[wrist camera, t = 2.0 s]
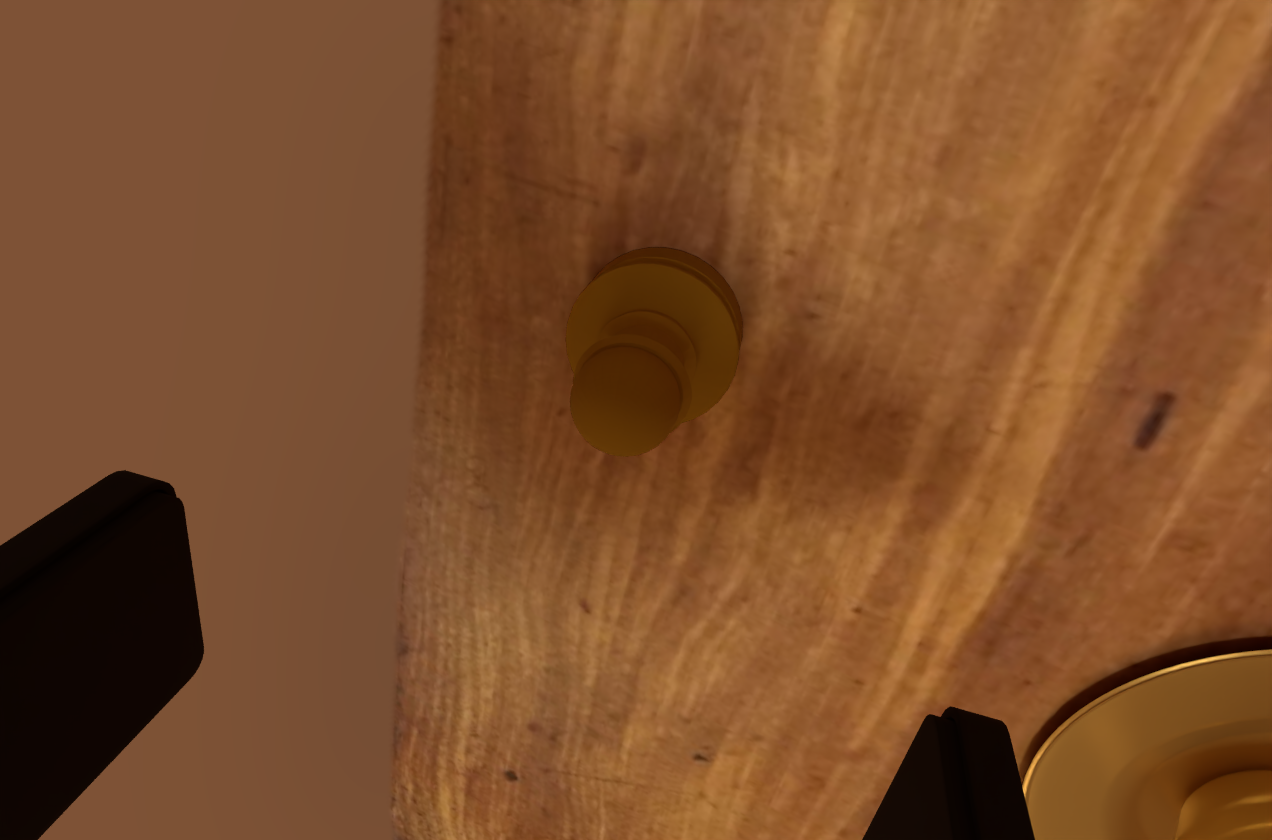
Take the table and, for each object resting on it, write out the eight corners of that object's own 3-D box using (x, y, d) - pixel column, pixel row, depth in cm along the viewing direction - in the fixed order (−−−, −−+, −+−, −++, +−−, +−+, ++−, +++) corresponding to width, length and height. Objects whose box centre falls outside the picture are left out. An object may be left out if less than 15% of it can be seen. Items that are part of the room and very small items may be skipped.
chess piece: (735, 238, 17) (707, 319, 13) (750, 398, 19) (730, 516, 15) (566, 254, 18) (488, 334, 14) (595, 405, 20) (534, 517, 16)
